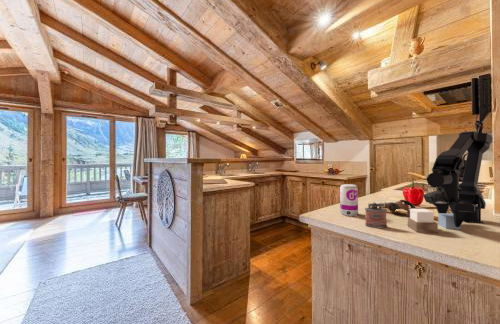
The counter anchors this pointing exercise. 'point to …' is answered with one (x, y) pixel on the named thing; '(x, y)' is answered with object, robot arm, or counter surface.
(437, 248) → the counter surface
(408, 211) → the dark brown irregular piece
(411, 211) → the cream middle block
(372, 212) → the lighter
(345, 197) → the supplement can
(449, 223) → the slate block
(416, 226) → the walnut base block
